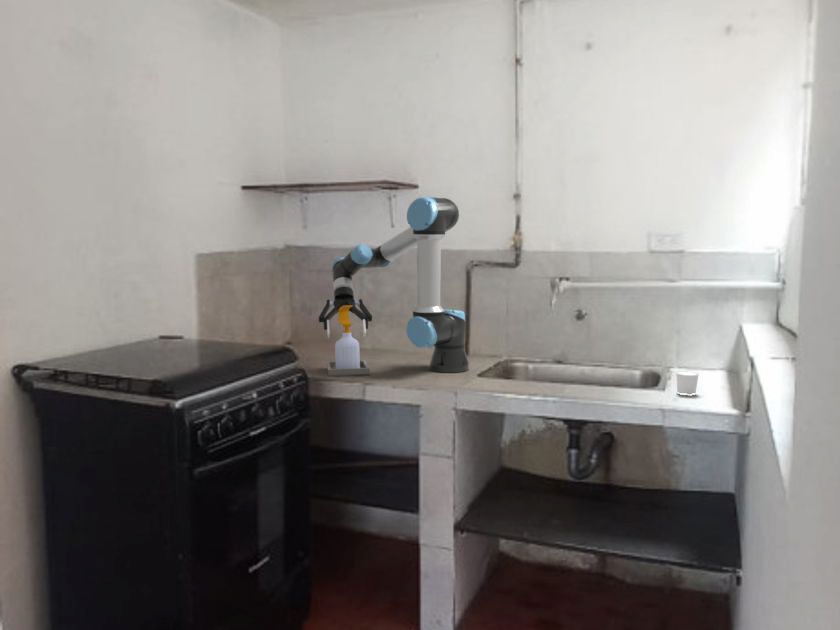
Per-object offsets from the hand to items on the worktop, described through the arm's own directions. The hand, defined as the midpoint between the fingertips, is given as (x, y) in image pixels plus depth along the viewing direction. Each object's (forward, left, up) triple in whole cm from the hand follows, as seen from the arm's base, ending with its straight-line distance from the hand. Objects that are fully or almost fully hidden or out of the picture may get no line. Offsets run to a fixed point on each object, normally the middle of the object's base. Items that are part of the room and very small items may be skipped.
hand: (346, 335), depth 266 cm
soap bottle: (0, 0, -13) cm, 13 cm away
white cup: (-107, +54, -14) cm, 121 cm away
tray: (0, 0, -14) cm, 14 cm away
